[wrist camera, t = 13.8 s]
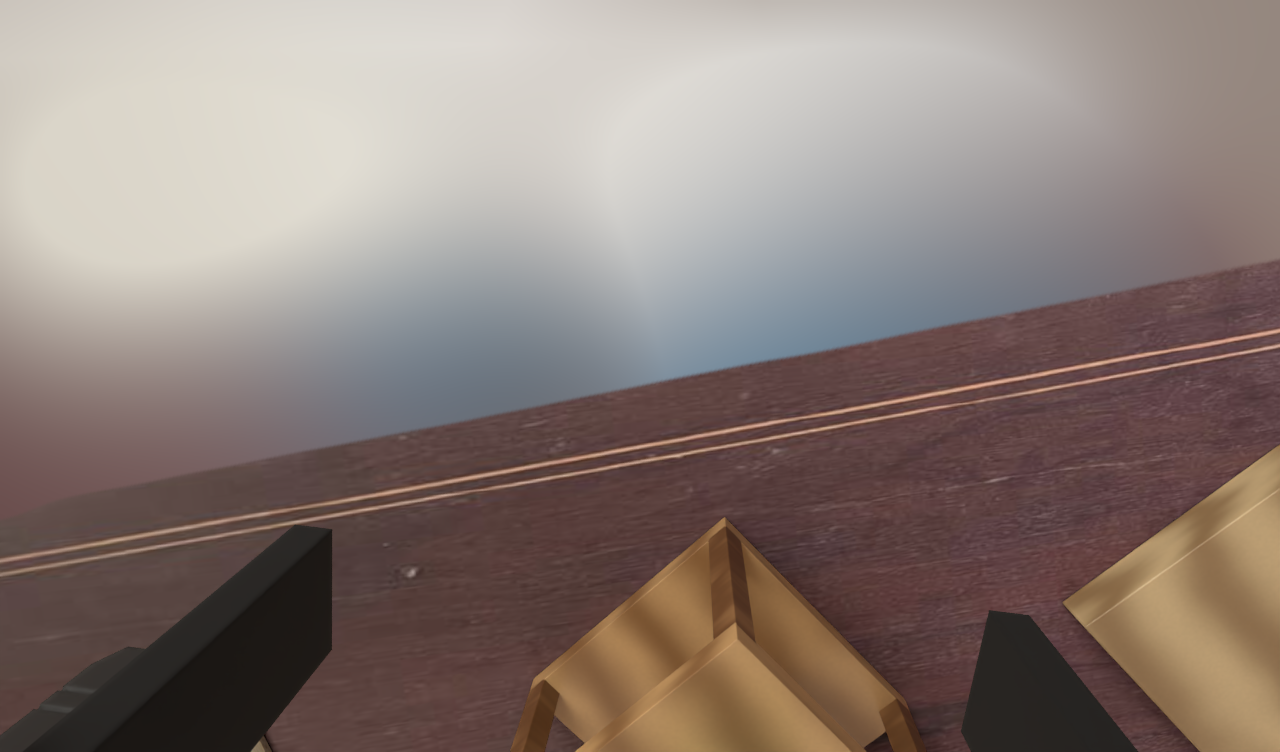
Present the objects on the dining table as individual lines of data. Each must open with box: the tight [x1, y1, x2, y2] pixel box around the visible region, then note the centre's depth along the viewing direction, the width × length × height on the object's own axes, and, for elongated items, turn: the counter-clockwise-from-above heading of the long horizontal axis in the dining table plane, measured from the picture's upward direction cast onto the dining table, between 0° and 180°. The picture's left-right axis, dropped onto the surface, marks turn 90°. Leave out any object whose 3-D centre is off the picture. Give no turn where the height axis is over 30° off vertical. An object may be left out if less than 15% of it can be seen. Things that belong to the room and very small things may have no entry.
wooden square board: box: [1063, 445, 1280, 752], centre depth 47 cm, size 16×16×3 cm
